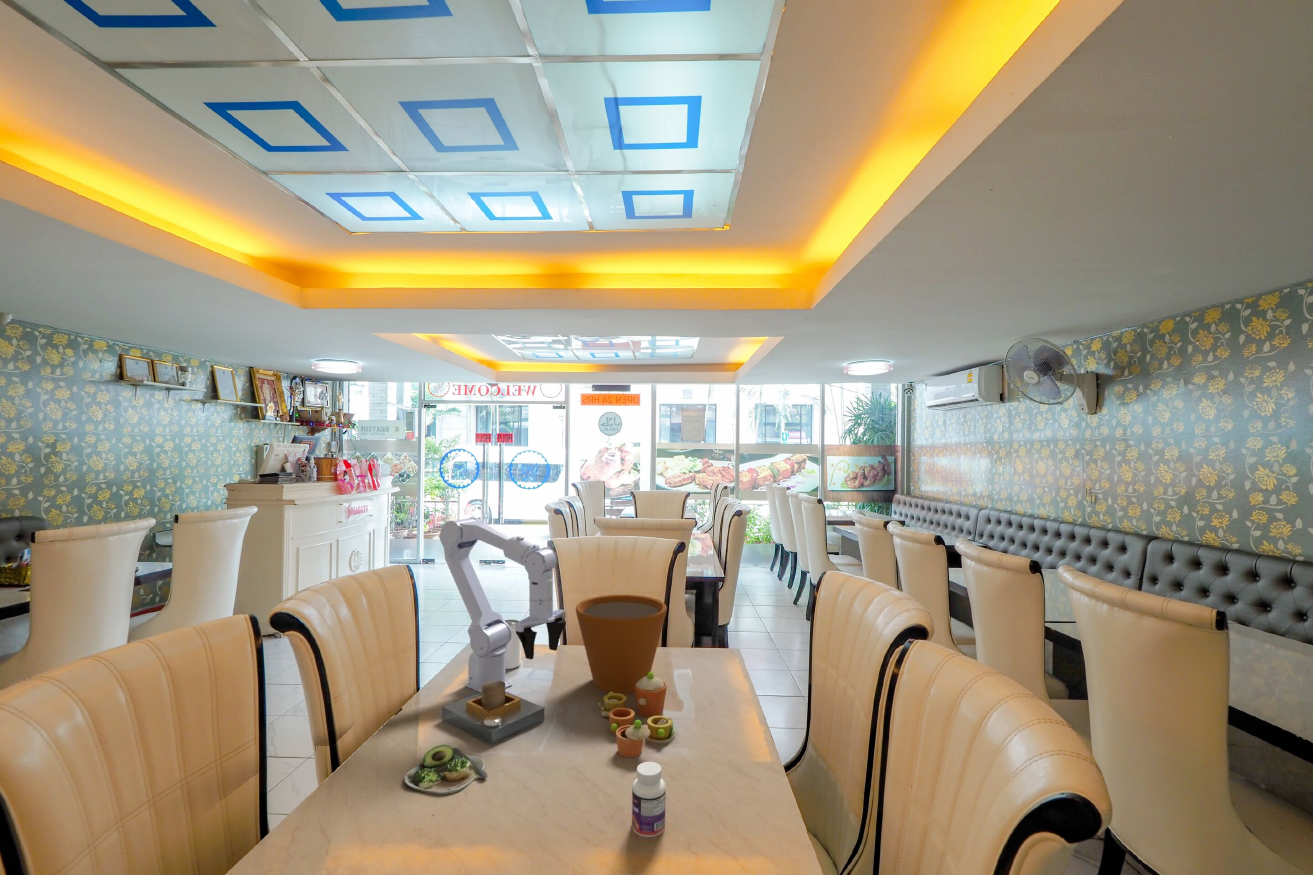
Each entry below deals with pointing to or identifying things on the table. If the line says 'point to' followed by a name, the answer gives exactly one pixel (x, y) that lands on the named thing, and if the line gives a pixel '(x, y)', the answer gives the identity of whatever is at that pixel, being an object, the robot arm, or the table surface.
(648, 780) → the pill bottle
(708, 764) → the table surface
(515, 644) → the can
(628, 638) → the flower pot
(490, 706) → the walnut peg
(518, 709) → the gray peg socket base
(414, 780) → the salad plate
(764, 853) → the table surface
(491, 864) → the table surface
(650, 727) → the toy tea set
